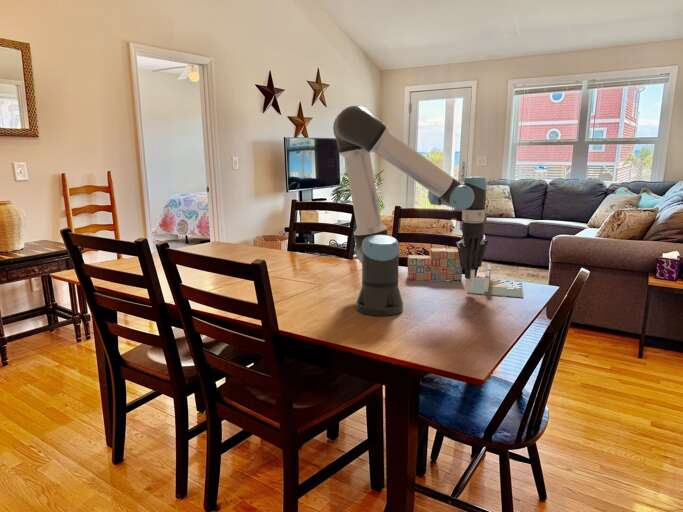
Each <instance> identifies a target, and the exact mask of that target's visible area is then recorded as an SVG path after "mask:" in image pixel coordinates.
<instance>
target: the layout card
mask: <svg viewBox="0 0 683 512" xmlns="http://www.w3.org/2000/svg"><path fill="white" fill-rule="evenodd" d="M491 279H492V278H490V286H489V288H488V292H484V290H485V278H480V279H478V277H475V278H474V288H469V287H467V288H468V289H467V292H466V293H467V294H469V295H470V294H471V295H479V294H481V295H484V296H491V295H496V296H495V297H503V296H508V297H507V298H515V297H520V298H519V299H524V295H523V283H522V281H518V280H514V281H515V282H521V283H519V284H517V285H522V286H519V287H522V288H518V289H517V288H516V287H508V286H496V285H497V284H501V283H504V282H501V283H499V282H500V281H501V280H502V279H496V280H497V281H493V280H495V279H494V278H493V279H492V280H491ZM510 281H511V280H507V281H505V282H510ZM510 284H513V282H512V283H510ZM512 286H513V285H512ZM507 288H514V289H507ZM481 295H480V296H481Z"/></svg>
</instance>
